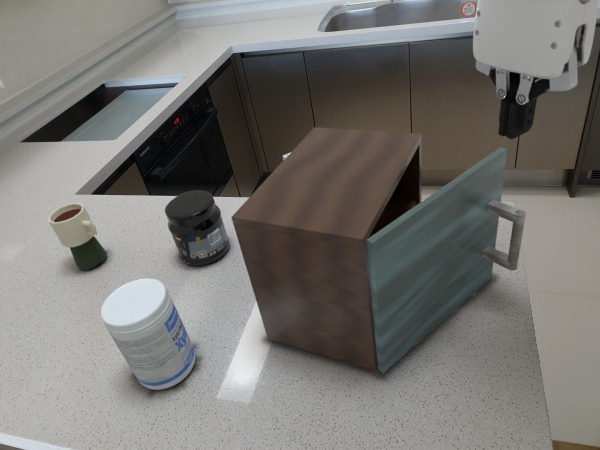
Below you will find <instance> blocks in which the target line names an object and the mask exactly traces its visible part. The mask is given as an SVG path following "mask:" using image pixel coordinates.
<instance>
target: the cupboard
mask: <svg viewBox="0 0 600 450" xmlns="http://www.w3.org/2000/svg"><path fill="white" fill-rule="evenodd" d="M289 153H290V154H289V155H288V156H287V158H286V159H285V160H284V161H282V162H280V164H279V165H278V166H277V167H276V168H275V169H274V170H273V171H272V172H271V174H270V175H269V176H268V177H267V178H266V179H265V180H264V181H263V182H262V183H261V185H260V186H259V187H258V188H257V189H256V190H255V191H254V192H253V193H252V194H250V196H249V197H248V198H247V200H246V201H245V202H244V203H243V204H242V205H241V206H240V207H239V208H238V209H237V210H236V211H235V213H233V215H232V216H230V217H231V221H232V224H233V228H234V231H235V234H236V238H237V242H238V245H239V248H240V251H241V254H242V257H243V262H244V265H245V268H246V271H247V275H248V278H249V282H250V284H251V288H252V291H253V294H254V298H255V302H256V304H257V308H258V311H259V314H260V318H261V321H262V325H263V327H264V331H265V334H266V337H267V340H269V341H272V342H275V343H279V344H282V345H285V346H289V347H292V348H296V349H299V350H302V351H305V352H309V353H312V354H316V355H319V356H323V357H326V358H329V359H333V360H336V361H339V362H343V363H346V364H350V365H353V366H357V367H359V368H363V369H366V370H369V371H373V372H376V371H377V370H378V363H377V352H376V341H375V330H374V319H373V308H372V296H371V285H370V274H369V263H368V252H367V241H366V240H367V239H368V238H370V237H371V236H373V235H374V234H376V233H377V232H378V231H380V230H381V229H383V228H384V227H386V226H387V225H389V224H390V223H391V222H393V221H394V220H396V219H397V218H399V217H400V216H402V215H403V214H405V213H406V212H407V211H409V210H410V209H412V208H413V207H415V206H416V205H418V204H419V203H421V202H422V133H417V132H401V131H400V132H399V131H383V130H368V129H367V130H365V129H352V128H351V129H350V128H335V127H334V128H333V127H331V128H330V127H316V126H315V127H313V128H312V130H310V132H308V133H307V135H306V136H305V137H304V138H303V139H301V141H300V142H299V143H298V144H297V146H296V147H294V148H293V150H292V151H291V152H289Z"/></svg>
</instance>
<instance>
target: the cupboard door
mask: <svg viewBox="0 0 600 450" xmlns="http://www.w3.org/2000/svg"><path fill="white" fill-rule="evenodd" d="M507 155H508V148H505V147H502V146H501V147H499V148H497V149H496V150H494V151H493V152H491V153H490V154H489V155H487V156H486V157H485V158H483V159H481V160H479V161H478V162H477V163H476V164H474V165H473V166H472V167H470V168H469V169H467V170H465V171H464V172H462V173H461V174H459V175H457V177H455V178H454V179H452V180H451V181H449V182H447V184H445V185H443V186H442V187H441V188H440V189H439V188H438V190H436V191H434V193H432V194H430V195H429V196H428V197H426V198H425V199H423V200H421V203H419V204H418V205H416V206H415V207H413V208H412V209H410V210H409V211H407V212H406V213H405V214H403V215H402V216H400V217H399V218H397V219H396V220H394V221H393V222H391V223H390V224H389V225H387V226H386V227H384V228H383V229H381V230H380V231H378V232H377V233H376V234H374V235H373V236H371V237H370V238H368V239H367V240H366V241H367V252H368V263H369V274H370V285H371V296H372V308H373V319H374V330H375V341H376V352H377V363H378V366H377V370H378V371H379V372H380V373H381V374H382V375H384V374H385V373H386V372H387V371H388V370H390V369H391V368H392V367H393V366H394V365H395V364H396V363H398V362H399V361H400V360H401V359H402V358H403V357H405V355H406V354H407V353H408V352H410V351H411V350H412V349H413V348H414V347H415V346H417V345H418V344H420V342H421V341H422V340H423V339H424V338H425V337H427V336H428V335H429V334H430V333H432V331H433V330H434V329H436V328H437V327H438V326H439V325H440V324H441V323H443V322H444V321H445V320H446V319H447V318H448V317H449V316H450V315H451V314H452V313H454V312H455V311H456V310H457V309H458V308H460V307H461V306H462V304H464V303H465V302H467V300H469V298H470V297H471V296H473V295H474V294H475V293H476V292H478V290H479V289H481V288H482V287H483V286H484V285H485V284H486V283H487V282H488V281H489V280H491V279H492V277H493V269H494V264H495V265H499V266H501V267H502V268H504V269H507V270H508V271H511V272H512V271H516V270H517V269H518V264H519V257H520V252H521V246H522V240H523V235H524V234H523V233H524V228H525V220H526V215H527V212H526V211H524V210H522V209H520V208H517V207H515V206H512V205H509V204H506V203H503V202H502V195H503V188H504V179H505V172H506V171H505V170H506V163H507ZM500 218H502V219H504V220H507V221H510V222H512V227H511V234H510V239H509V240H510V241H509V249H508V253H505V252H503V251H501V250H498V249H497V248H496V245H497V236H498V228H499V222H500V221H499V219H500Z"/></svg>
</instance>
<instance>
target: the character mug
mask: <svg viewBox="0 0 600 450" xmlns="http://www.w3.org/2000/svg"><path fill="white" fill-rule="evenodd" d="M47 221H48V223H49V225H50V227H51V228H52V230H53V232H54V233H55V235H56V237H57V239H58V240H59V241H60V243H61V245H62V247H65V248H69V249H70V252H71V256H72V258H73V260H74V263H75V264H76V267H77V268H78V269H79V270H84V271H85V270H89V269H92V268H94V267H96V266H97V265H99V264H101V263H102V262H103V261H104V260H105V259H106V258H107V257H108V253H107V251H106V250H105V248H104V247H103V246H102V244H101V242H100V241H99V240H98V239H97V237H95V236H96V235H98V230H97V229H96V228H97V227H96V225H95V224H94V223H93V221H92V219H91V215H90V214H89V212H88V211H87V209H86V206H84V204H83V203H82V202H69V203H66V204H64V205H62V206H60V207H57V208H56V209H54V210H53V211H52V212H51V213H49V215H48V217H47Z"/></svg>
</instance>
